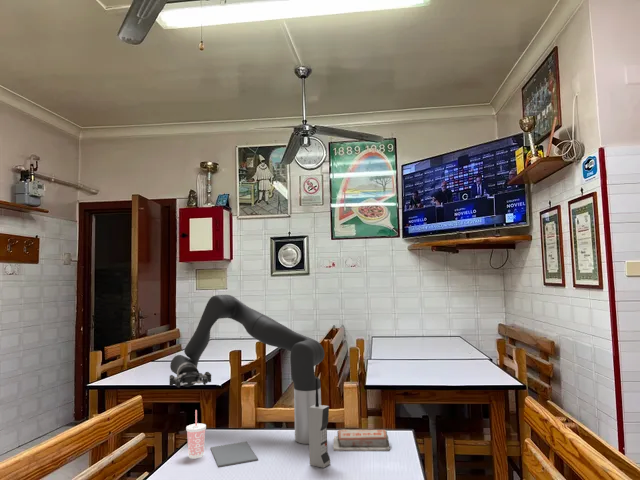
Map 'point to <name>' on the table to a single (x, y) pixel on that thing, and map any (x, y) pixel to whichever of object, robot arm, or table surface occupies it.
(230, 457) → the mat
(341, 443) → the packaged product
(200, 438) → the beverage cup
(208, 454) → the table surface
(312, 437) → the vintage mobile phone
